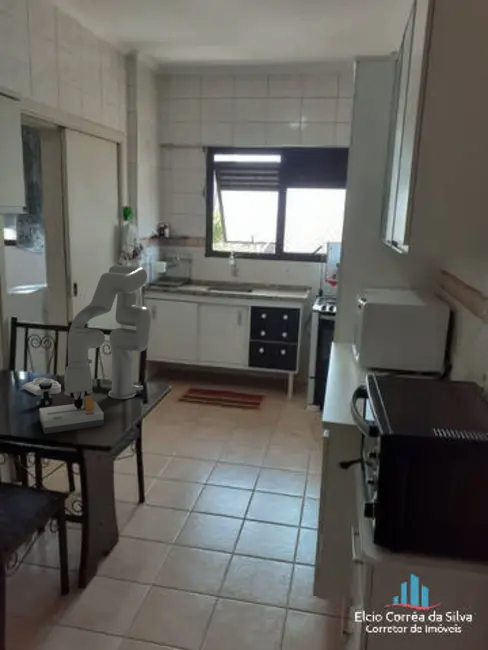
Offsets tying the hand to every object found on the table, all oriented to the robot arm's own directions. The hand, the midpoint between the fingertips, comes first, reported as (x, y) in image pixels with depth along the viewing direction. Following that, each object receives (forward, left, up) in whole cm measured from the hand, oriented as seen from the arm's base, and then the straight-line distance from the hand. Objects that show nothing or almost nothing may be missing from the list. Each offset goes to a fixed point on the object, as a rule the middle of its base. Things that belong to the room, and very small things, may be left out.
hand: (78, 407), depth 200 cm
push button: (+10, -24, -6) cm, 27 cm away
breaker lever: (-4, 0, -3) cm, 5 cm away
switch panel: (+3, -1, -6) cm, 7 cm away
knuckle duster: (+7, -44, -7) cm, 45 cm away
